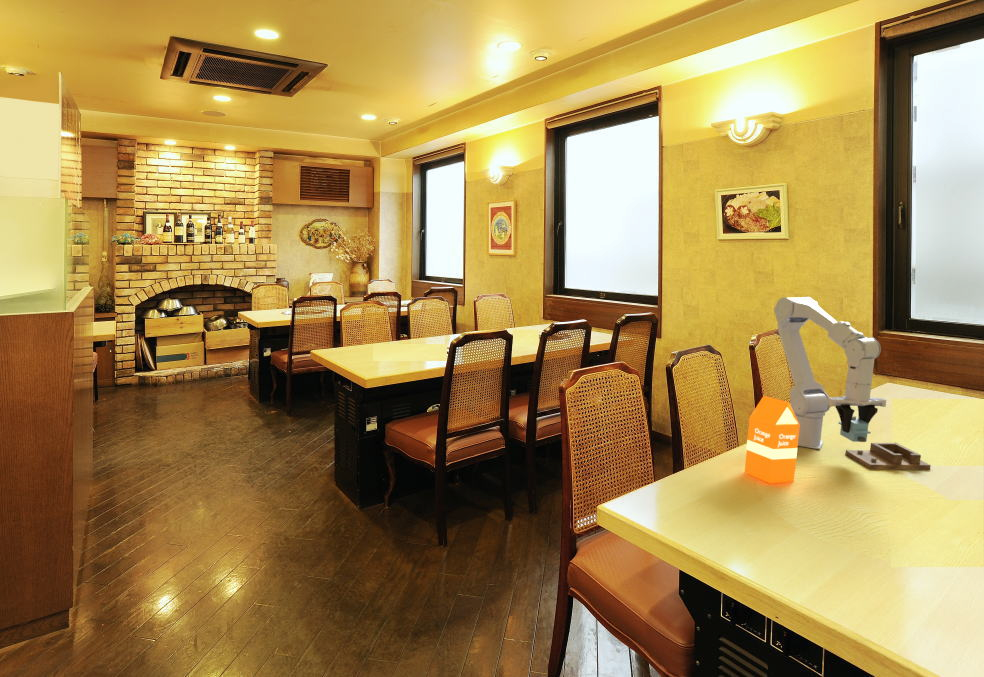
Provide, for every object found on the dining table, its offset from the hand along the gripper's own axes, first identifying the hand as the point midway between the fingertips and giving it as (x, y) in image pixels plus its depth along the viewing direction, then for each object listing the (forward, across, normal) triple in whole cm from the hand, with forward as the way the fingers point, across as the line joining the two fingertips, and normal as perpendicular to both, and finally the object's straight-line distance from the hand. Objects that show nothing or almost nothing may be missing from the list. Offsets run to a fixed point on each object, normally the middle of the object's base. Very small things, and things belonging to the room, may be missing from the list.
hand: (853, 431), depth 162 cm
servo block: (+2, 0, 0) cm, 2 cm away
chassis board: (+8, +10, 0) cm, 13 cm away
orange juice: (+9, -28, -12) cm, 31 cm away
